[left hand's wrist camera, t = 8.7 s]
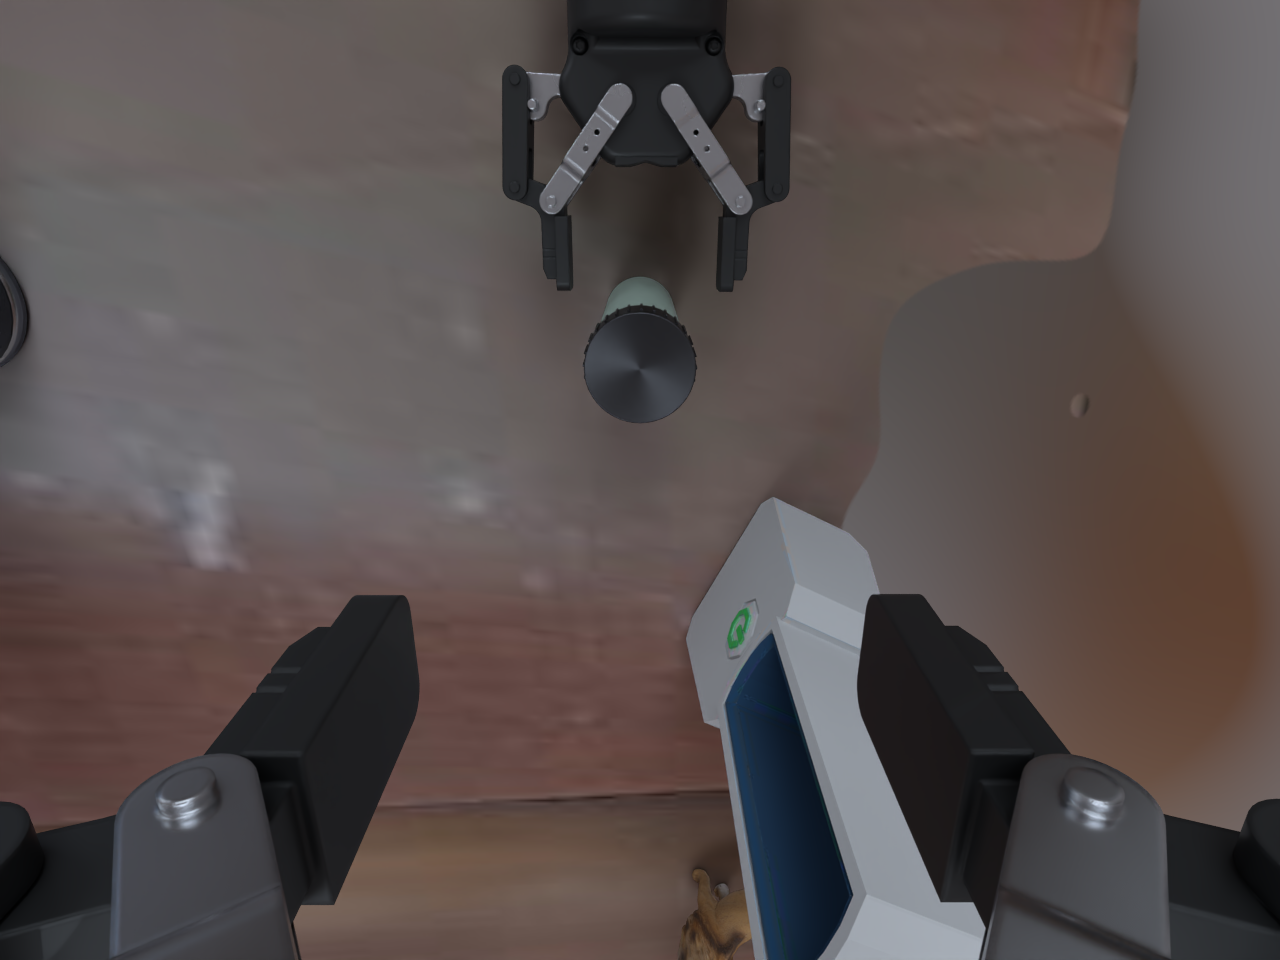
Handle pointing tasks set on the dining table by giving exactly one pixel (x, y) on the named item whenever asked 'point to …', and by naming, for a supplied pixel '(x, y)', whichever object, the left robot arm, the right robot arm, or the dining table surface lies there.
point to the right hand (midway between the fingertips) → (645, 289)
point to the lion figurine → (715, 923)
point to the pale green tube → (639, 295)
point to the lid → (640, 364)
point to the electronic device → (812, 754)
